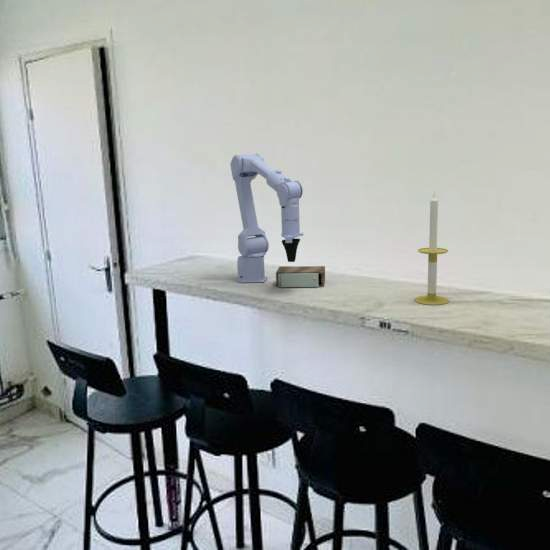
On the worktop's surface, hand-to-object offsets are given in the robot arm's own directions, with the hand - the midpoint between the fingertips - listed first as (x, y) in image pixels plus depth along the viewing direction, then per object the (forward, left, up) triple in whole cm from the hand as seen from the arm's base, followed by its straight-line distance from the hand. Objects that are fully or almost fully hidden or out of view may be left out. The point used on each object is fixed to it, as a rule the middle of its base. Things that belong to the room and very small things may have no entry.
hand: (291, 261), depth 195 cm
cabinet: (+2, +11, -10) cm, 15 cm away
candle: (+43, -12, -10) cm, 46 cm away
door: (+2, +5, -10) cm, 11 cm away
